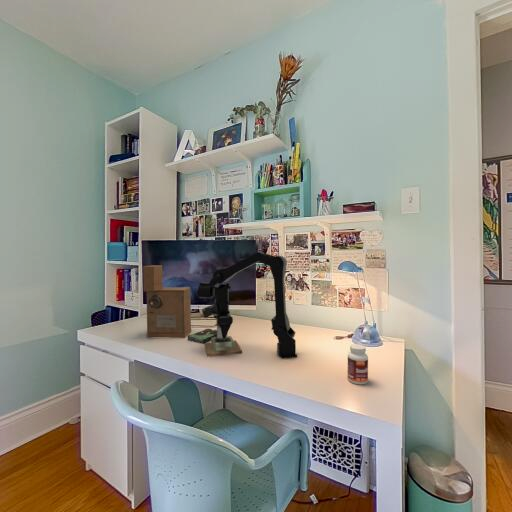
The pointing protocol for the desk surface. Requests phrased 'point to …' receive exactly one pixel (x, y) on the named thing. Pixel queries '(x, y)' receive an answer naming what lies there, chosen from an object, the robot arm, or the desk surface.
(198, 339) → the disk drive
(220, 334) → the peg
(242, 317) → the desk surface
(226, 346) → the dock board
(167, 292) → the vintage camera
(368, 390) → the desk surface
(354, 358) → the pill bottle
